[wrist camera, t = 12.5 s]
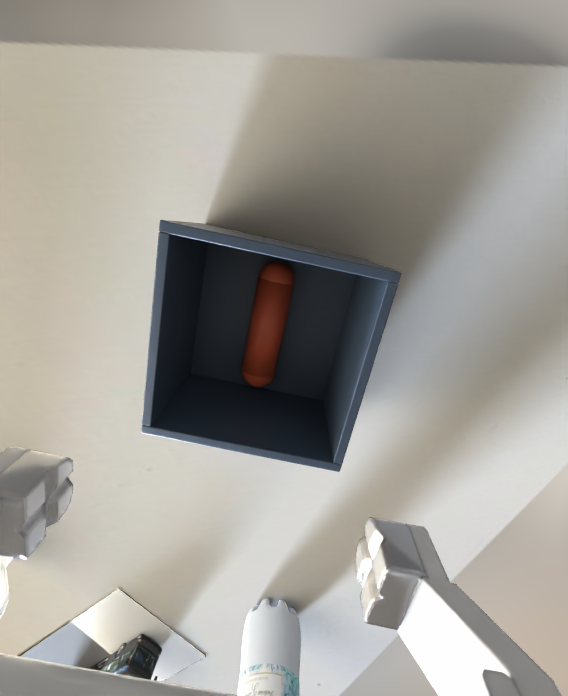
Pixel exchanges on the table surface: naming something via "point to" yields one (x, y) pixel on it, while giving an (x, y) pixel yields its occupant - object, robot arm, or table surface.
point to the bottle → (270, 651)
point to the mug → (4, 583)
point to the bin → (231, 335)
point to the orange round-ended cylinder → (267, 323)
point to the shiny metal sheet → (118, 642)
